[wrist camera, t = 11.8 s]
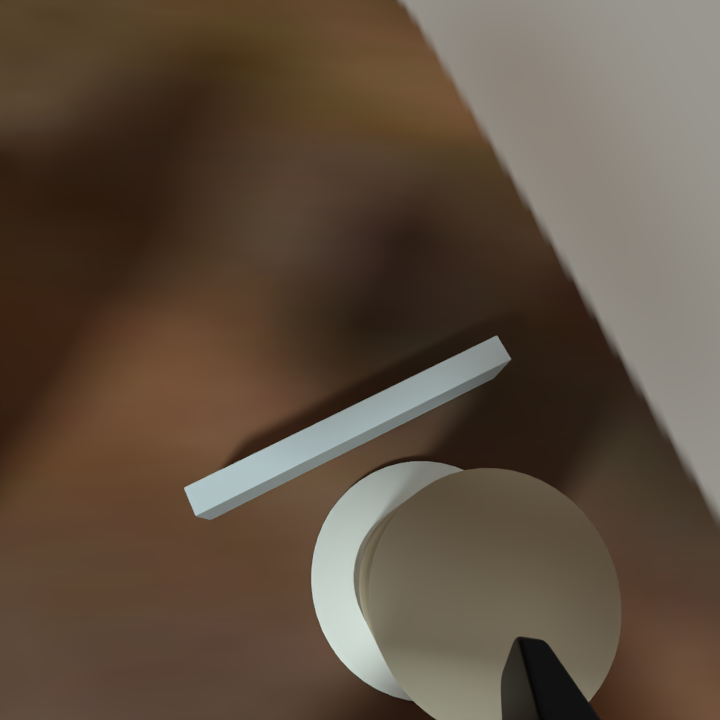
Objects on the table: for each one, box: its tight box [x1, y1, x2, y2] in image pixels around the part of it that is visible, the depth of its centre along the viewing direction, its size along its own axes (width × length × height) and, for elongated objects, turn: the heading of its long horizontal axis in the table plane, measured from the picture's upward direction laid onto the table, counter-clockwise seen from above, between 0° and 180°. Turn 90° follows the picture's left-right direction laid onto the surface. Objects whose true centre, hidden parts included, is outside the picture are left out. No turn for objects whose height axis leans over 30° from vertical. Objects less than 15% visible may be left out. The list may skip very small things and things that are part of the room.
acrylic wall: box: [184, 336, 511, 520], centre depth 22 cm, size 12×1×2 cm, turn 117°
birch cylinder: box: [353, 468, 622, 720], centre depth 17 cm, size 5×5×10 cm
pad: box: [311, 461, 464, 701], centre depth 22 cm, size 8×8×1 cm
